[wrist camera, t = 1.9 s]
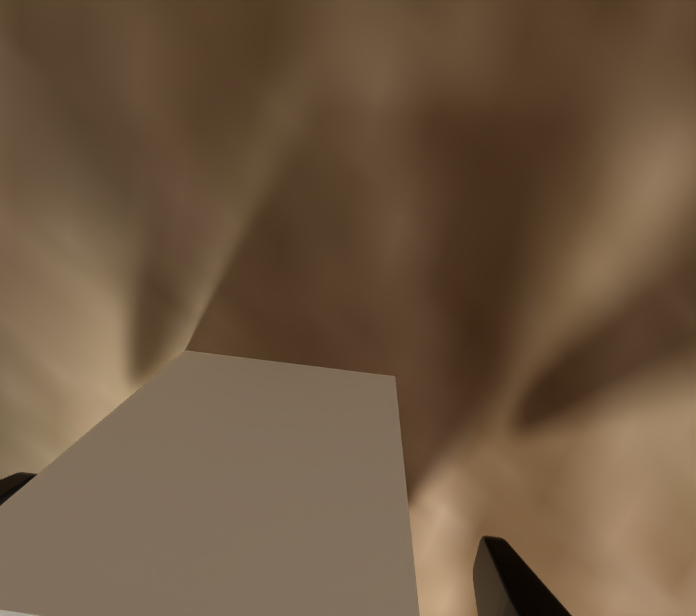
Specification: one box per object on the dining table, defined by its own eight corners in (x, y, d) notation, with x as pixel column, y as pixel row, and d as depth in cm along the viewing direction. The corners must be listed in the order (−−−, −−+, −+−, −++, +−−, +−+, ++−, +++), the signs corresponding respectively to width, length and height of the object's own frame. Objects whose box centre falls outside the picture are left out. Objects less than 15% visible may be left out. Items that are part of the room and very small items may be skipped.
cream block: (370, 542, 11) (363, 944, 5) (189, 517, 11) (-18, 877, 5) (395, 375, 9) (425, 672, 4) (186, 349, 9) (-105, 593, 4)
